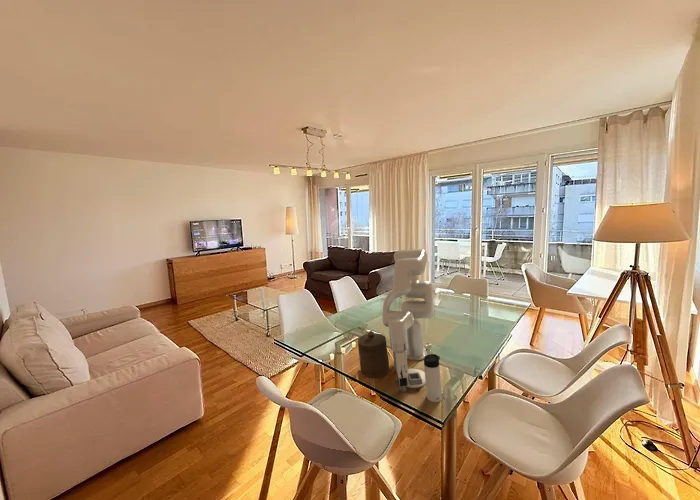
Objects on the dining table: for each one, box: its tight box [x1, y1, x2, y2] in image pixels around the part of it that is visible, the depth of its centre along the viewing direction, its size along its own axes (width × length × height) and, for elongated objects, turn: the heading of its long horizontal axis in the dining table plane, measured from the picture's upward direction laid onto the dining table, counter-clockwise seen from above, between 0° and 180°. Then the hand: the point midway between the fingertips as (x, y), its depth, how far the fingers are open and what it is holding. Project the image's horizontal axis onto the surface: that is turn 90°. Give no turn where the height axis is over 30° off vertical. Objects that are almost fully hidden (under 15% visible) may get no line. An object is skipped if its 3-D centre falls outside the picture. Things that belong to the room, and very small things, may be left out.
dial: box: [406, 368, 426, 389], centre depth 134 cm, size 13×13×4 cm
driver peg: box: [397, 373, 408, 393], centre depth 127 cm, size 3×3×11 cm
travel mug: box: [423, 353, 443, 403], centre depth 119 cm, size 6×7×20 cm
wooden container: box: [357, 331, 390, 379], centre depth 145 cm, size 15×15×22 cm
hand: (402, 382), depth 127 cm, fingers closed on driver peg, 3 cm apart
